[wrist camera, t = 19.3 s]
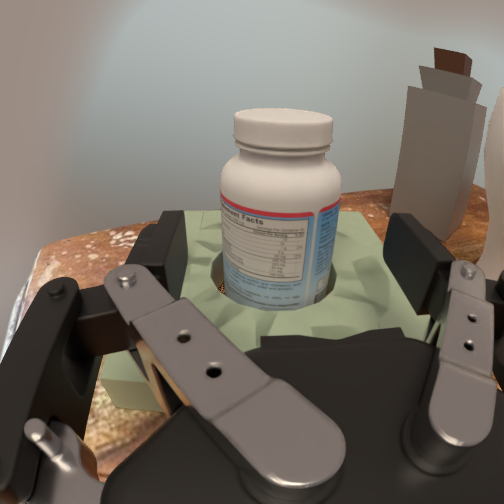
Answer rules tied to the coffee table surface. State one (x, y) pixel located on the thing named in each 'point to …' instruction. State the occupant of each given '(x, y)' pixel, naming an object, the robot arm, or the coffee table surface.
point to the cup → (494, 193)
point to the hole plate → (279, 322)
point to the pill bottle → (279, 209)
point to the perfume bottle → (440, 145)
